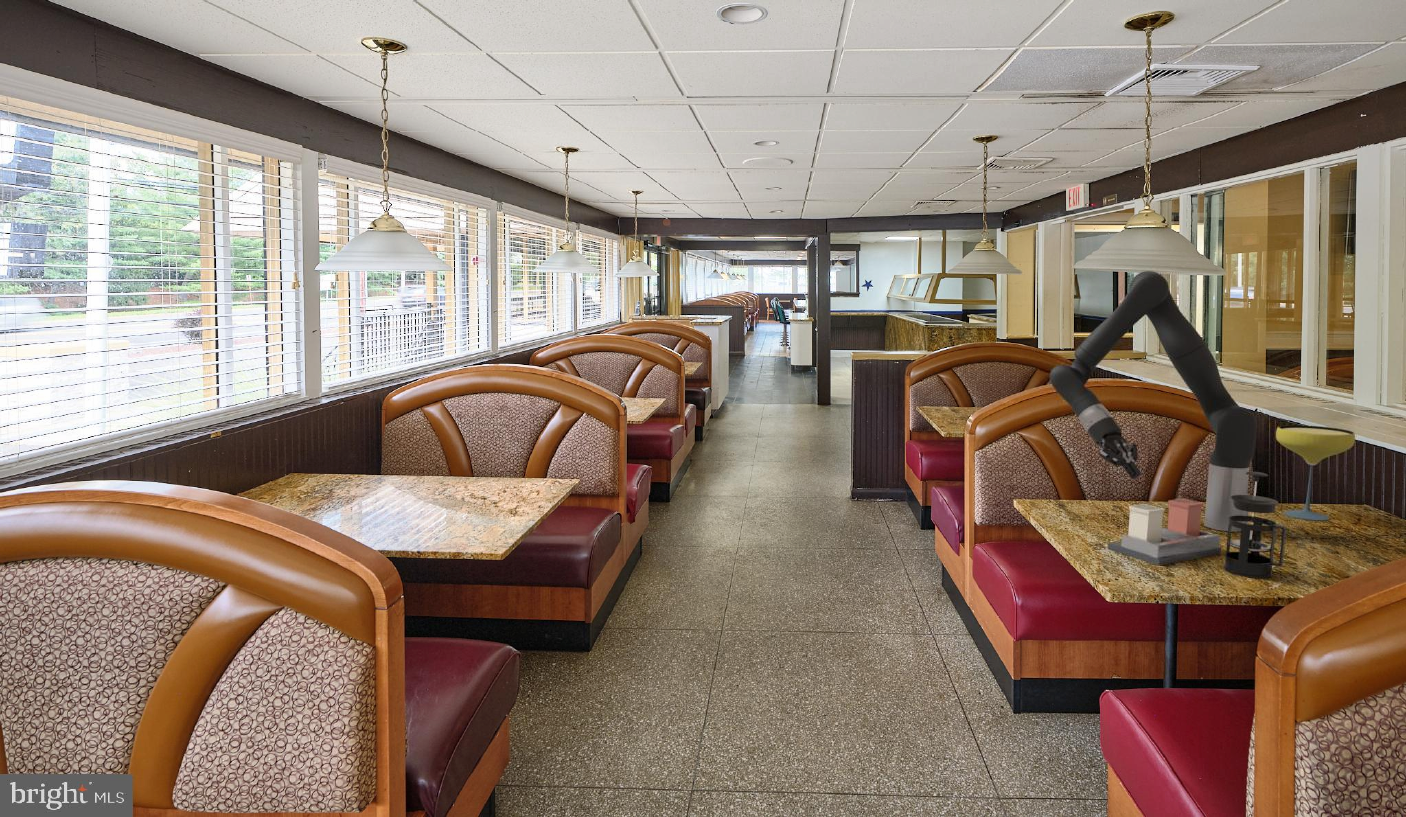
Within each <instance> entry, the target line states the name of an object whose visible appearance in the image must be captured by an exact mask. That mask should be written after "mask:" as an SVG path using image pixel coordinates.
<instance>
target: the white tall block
mask: <svg viewBox="0 0 1406 817" xmlns="http://www.w3.org/2000/svg"><path fill="white" fill-rule="evenodd" d="M1165 509H1166V508H1162V507H1158V506H1155V505H1150V504H1146V503H1140V504H1135V505H1134V504H1133V505H1128V510H1129V519H1128V520H1129V521H1128V522H1129V523H1128V533H1127V534H1128V536H1132V537H1135V538H1138V539H1142V540H1145V541H1148V542H1152V543H1155V544H1156V543H1161V531H1162V528H1163V519H1164V518H1163V516H1164V513H1165Z"/></svg>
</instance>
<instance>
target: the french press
mask: <svg viewBox="0 0 1406 817" xmlns="http://www.w3.org/2000/svg"><path fill="white" fill-rule="evenodd" d="M1246 474H1247V475H1249V476H1251V477H1253V482H1254V489H1253V490H1254V491H1253V495H1252V494H1251V495H1250V494H1249V495H1234V496H1231V499H1232V500H1233V503H1234V506H1235V508H1236V509H1238V510H1242V511H1247V512H1248V513H1251V515H1248V516H1241V515H1238V516H1231V517H1229V525H1228V531H1227V537H1226V538H1227V539H1226V547H1225V548H1226V551H1225V562H1224V565H1223V570H1224V571H1225V572H1227V573H1229V574H1232V575H1236V576H1240V577H1243V576H1245V577H1244V578H1250V579H1268V577H1270V576H1272V577H1273V572H1272V570H1273V566H1275V567H1281V566H1282V565H1283V563H1284V554H1285V544H1286V534H1287V527H1286V526H1285V525H1280V524H1277V522H1276V521H1273V519H1272V520H1271V519H1268V518H1265V517H1261V516H1260V517H1259V516H1254V515H1255V513H1256V514H1273V513H1275V512H1276V506H1277V505H1278V504H1279V501H1278V500H1276V499H1274V498H1269V497H1265V496H1258V495H1256V494H1257V488H1258V487H1257V486H1258V483H1259V480H1260V477H1261V478H1263V477H1265V478H1266V477H1268V476H1269V475H1268V474H1267V473H1264V472H1259V471H1249V472H1247V473H1246ZM1236 521H1247V524H1244V523H1240V522H1236ZM1249 523H1250V524H1249ZM1232 526H1233V527H1236V528H1240V529H1241V531H1240V536H1239V537H1240V538H1237V539H1236V538H1235V539H1231V538H1232V531H1231V528H1232ZM1277 529H1279V530H1281V541H1280V550H1279V551H1280V552H1279V560H1278V562H1277V561H1276V562H1275V561H1274V560H1273V559H1274V549H1275V540H1276V539H1275V538H1276V530H1277ZM1263 532H1266V533H1269V532H1271V542H1270V543H1271V544H1268V543H1266V542H1262V541H1261V540H1262V533H1263ZM1231 547H1232V548H1234V549H1237V550H1238V551H1230V549H1231ZM1269 552H1270V553H1269ZM1260 553H1269V557H1268V556H1265V555H1262V554H1260ZM1270 578H1271V577H1270Z"/></svg>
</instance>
